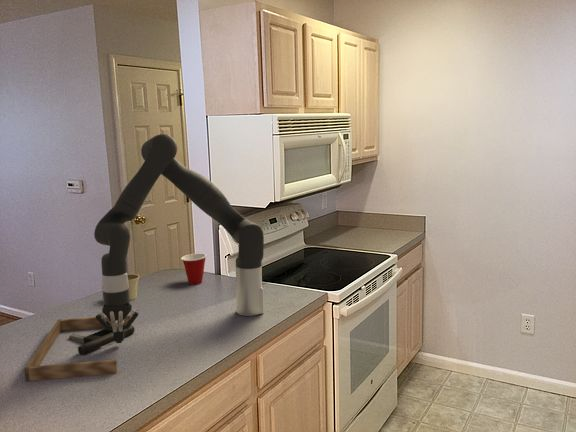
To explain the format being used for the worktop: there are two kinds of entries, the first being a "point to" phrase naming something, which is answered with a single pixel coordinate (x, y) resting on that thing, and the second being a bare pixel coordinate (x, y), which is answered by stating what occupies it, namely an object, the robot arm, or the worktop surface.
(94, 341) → the door handle
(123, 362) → the worktop surface
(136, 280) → the flower pot
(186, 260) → the plastic cup
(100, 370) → the box
